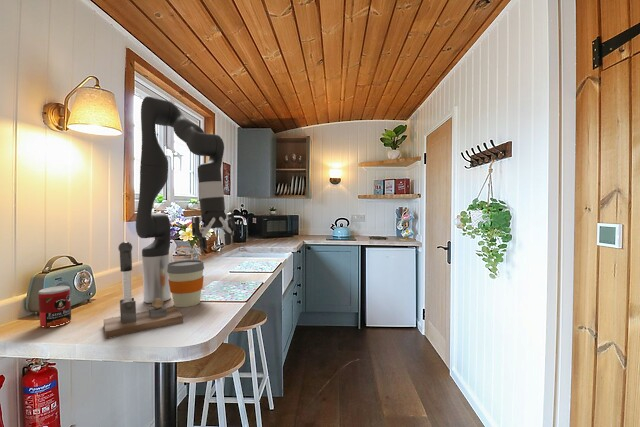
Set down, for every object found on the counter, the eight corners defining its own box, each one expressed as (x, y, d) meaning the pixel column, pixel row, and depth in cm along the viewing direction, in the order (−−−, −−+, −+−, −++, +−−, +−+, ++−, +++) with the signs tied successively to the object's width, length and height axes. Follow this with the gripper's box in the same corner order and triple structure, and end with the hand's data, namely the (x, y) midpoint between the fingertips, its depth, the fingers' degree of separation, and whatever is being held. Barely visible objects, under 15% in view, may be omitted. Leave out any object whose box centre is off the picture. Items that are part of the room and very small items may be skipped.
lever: (120, 308, 99) (117, 241, 98) (134, 305, 101) (131, 240, 100) (121, 311, 96) (118, 242, 95) (135, 308, 98) (132, 241, 97)
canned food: (46, 330, 98) (44, 293, 97) (35, 325, 102) (33, 290, 101) (76, 322, 104) (74, 287, 104) (65, 317, 108) (63, 284, 108)
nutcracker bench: (103, 325, 100) (102, 299, 100) (174, 312, 112) (173, 288, 111) (105, 338, 90) (104, 309, 90) (182, 322, 102) (182, 296, 102)
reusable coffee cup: (178, 298, 128) (176, 260, 128) (210, 298, 128) (208, 259, 127) (161, 308, 116) (160, 266, 115) (196, 308, 115) (195, 265, 115)
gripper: (224, 196, 113) (228, 243, 114) (184, 198, 102) (189, 250, 103) (237, 194, 108) (241, 244, 109) (197, 196, 98) (202, 251, 98)
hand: (216, 247), depth 106 cm, fingers open, 8 cm apart
